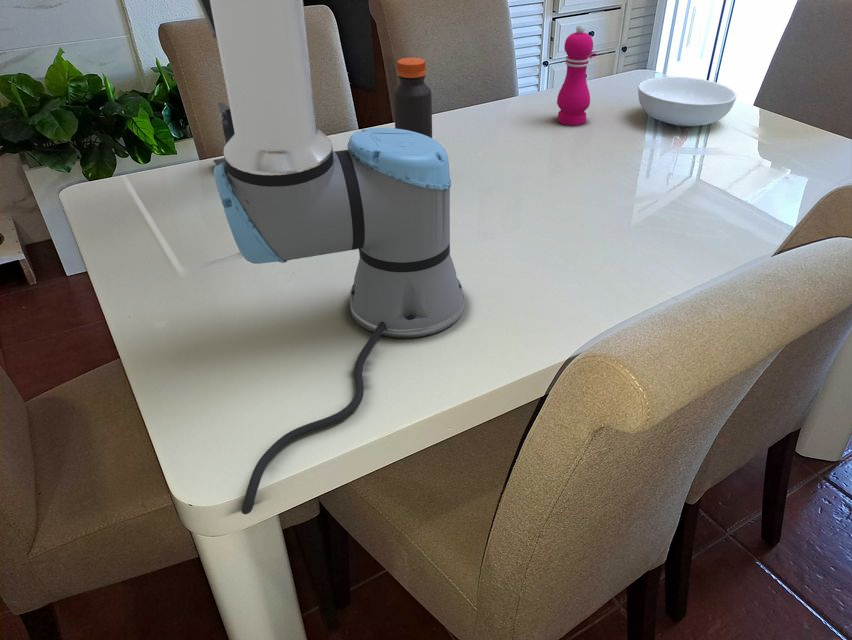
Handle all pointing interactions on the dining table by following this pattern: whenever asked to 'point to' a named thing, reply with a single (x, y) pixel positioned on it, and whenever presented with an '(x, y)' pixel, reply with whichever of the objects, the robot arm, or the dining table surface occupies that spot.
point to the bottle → (413, 97)
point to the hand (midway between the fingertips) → (248, 86)
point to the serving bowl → (685, 100)
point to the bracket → (225, 126)
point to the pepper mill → (575, 79)
